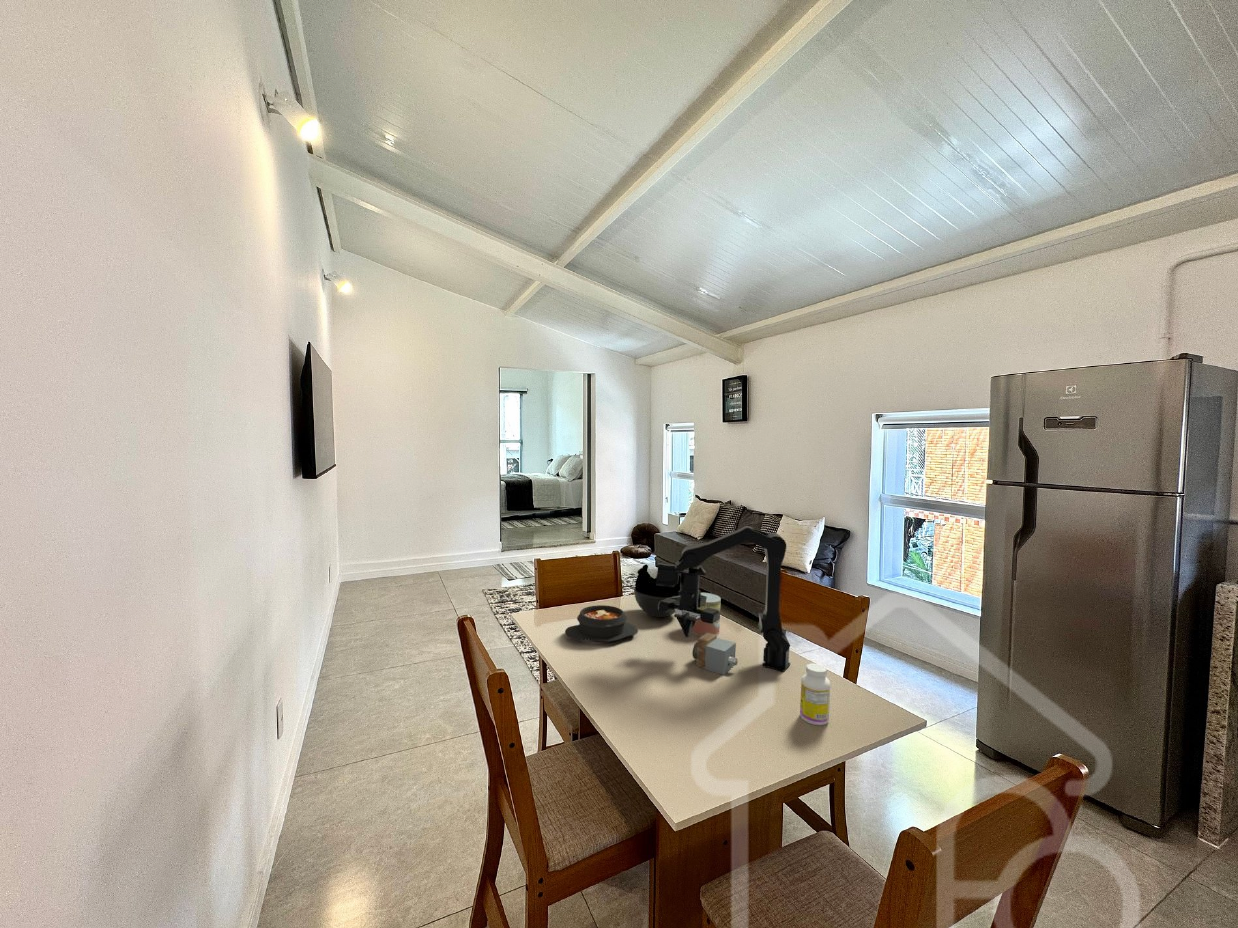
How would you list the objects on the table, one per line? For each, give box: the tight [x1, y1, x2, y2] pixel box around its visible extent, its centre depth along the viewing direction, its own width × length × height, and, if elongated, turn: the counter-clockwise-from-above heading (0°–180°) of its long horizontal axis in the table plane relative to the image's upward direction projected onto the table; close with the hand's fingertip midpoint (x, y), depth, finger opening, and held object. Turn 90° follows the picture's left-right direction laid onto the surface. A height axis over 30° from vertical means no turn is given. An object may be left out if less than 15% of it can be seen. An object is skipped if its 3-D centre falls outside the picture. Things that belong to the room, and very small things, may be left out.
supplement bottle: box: [799, 663, 831, 726], centre depth 124 cm, size 7×7×13 cm
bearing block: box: [704, 637, 737, 676], centre depth 151 cm, size 6×8×7 cm
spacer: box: [696, 633, 718, 669], centre depth 153 cm, size 3×7×8 cm, turn 145°
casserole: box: [564, 604, 639, 643], centre depth 172 cm, size 25×19×8 cm
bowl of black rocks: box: [633, 563, 681, 618], centre depth 194 cm, size 20×20×19 cm
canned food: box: [689, 592, 722, 637], centre depth 180 cm, size 11×11×12 cm
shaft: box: [691, 641, 739, 667], centre depth 152 cm, size 13×5×5 cm, turn 55°
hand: (687, 637), depth 157 cm, fingers closed
